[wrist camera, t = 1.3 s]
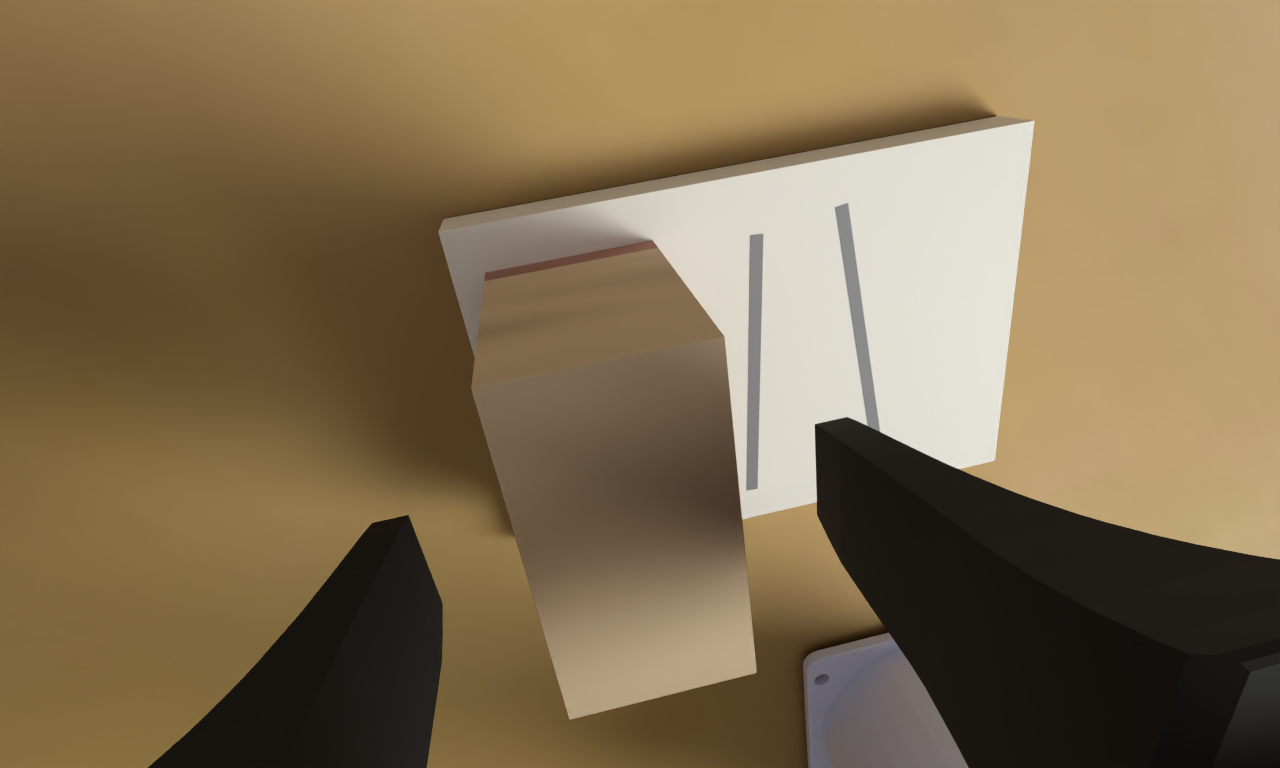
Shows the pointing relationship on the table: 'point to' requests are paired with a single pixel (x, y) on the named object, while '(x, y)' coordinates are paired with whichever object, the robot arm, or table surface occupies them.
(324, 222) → the table surface
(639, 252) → the block
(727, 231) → the board
